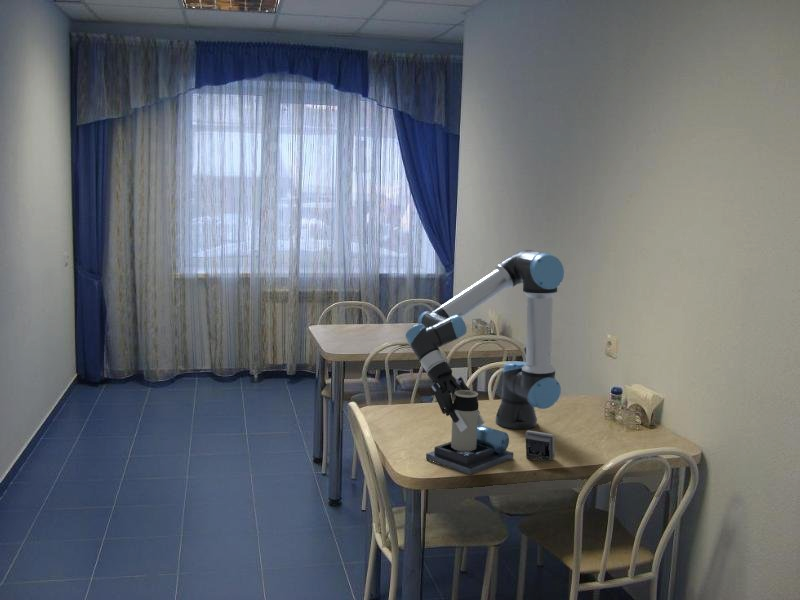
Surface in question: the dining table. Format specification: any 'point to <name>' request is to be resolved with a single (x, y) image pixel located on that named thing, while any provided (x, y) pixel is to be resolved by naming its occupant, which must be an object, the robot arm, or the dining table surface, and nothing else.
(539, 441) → the electrical switch
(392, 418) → the dining table surface
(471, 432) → the travel mug
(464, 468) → the base
